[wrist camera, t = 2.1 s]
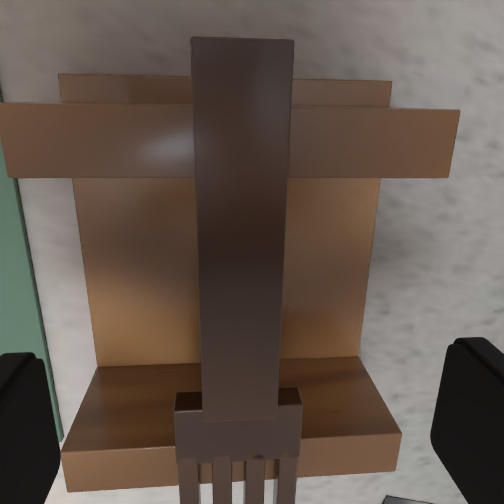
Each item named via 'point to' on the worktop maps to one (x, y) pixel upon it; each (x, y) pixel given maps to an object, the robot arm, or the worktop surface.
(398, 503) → the meat cleaver
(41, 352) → the mat
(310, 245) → the rack
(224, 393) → the fork
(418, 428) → the worktop surface
